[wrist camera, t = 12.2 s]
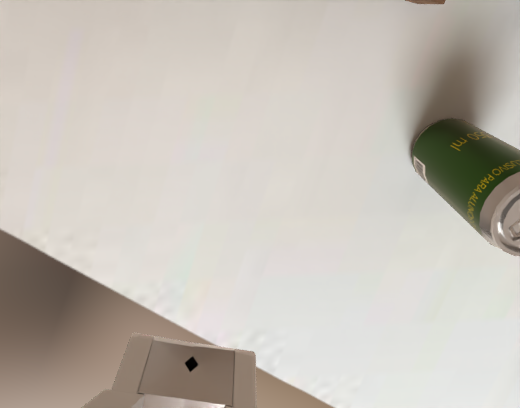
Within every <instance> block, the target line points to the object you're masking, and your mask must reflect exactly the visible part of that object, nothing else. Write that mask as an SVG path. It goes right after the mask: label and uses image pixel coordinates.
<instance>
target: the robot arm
mask: <svg viewBox="0 0 520 408" xmlns="http://www.w3.org/2000/svg"><path fill="white" fill-rule="evenodd" d="M81 408H256V355H255V353H254V352H252V351H246V350H239V349H232V348H226V347H219V346H212V345H205V344H199V343H190V342H185V341H179V340H174V339H168V338H163V337H158V336H155V337H154V336H150V335H144V334H139V333H133V334H132V336H131V337H130V340H129V342H128V345H127V348H126V351H125V354H124V356H123V359H122V362H121V365H120V367H119V370H118V373H117V376H116V379H115V381H114V384H113V387H112V390H107V389H104V390H103V391H102V392H100V393H99V394H98V395H97V396H95V397H94V398H93V399H92V400H90V401H89V402H88V403H86V404H85V405H84V406H83V407H81Z"/></svg>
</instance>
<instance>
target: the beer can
mask: <svg viewBox="0 0 520 408" xmlns="http://www.w3.org/2000/svg"><path fill="white" fill-rule="evenodd" d="M412 164H413V166H414V169H415V171H416V172H417V173H418V174H419V175H420V176H421V177H422V178H423V179H424V180H425V181H426V182H427V183H428V184H429V185H430V186H431V187H432V188H433V189H434V190H435V191H436V192H437V193H438V194H439V195H440V196H441V197H442V198H443V199H444V200H445V201H446V202H447V203H448V204H449V205H450V206H451V207H453V208H454V209H455V210H456V211H457V212H458V213H459V214H460V215H461V216H462V217H463V218H464V219H465V220H466V221H467V222H468V223H469V224H470V225H471V226H472V227H473V228H474V229H475V230H476V231H477V232H478V233H479V234H480V235H481V236H482V237H484V238H485V239H486V240H487V241H488V242H489V243H490V244H491V245H493V246H495V247H498V248H500V249H502V250H503V251H505V252H507V253H509V254H511V255H514V256H520V150H518V149H517V148H515V147H513V146H511V145H509V144H507V143H505V142H503V141H501V140H500V139H498V138H496V137H494V136H492V135H490V134H488V133H486V132H484V131H483V130H481V129H479V128H477V127H475V126H473V125H471V124H469V123H467V122H466V121H464V120H461V119H453V118H450V119H445V120H440V121H437V122H435V123H433V124H431V125H429V126H428V127H426V128H425V129H424V130H423V131H422V132H421V133H420V134H419V136H418V137H417V139H416V140H415V143H414V146H413V149H412Z"/></svg>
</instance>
